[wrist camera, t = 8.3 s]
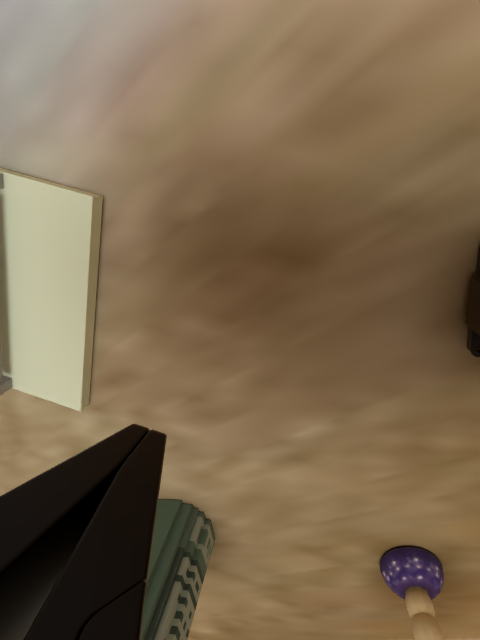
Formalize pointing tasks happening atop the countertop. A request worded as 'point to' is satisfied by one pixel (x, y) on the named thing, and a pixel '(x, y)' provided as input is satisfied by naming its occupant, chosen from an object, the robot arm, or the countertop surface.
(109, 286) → the countertop surface
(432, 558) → the toy lamp
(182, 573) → the can
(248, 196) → the countertop surface
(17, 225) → the pale green base plate
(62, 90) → the countertop surface
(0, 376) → the hinged cream panel
